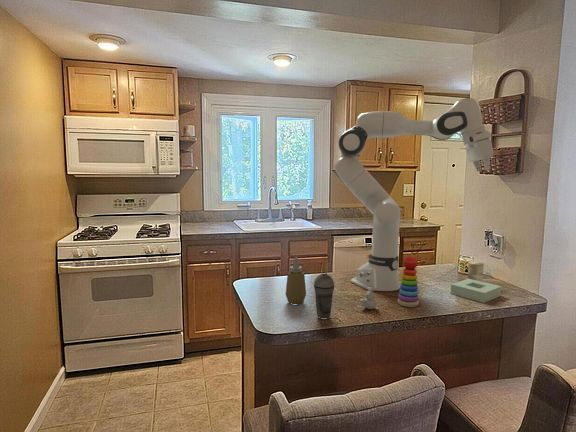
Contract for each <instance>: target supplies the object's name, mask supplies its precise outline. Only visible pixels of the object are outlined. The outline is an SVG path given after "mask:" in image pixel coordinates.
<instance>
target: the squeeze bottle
mask: <svg viewBox="0 0 576 432" xmlns="http://www.w3.org/2000/svg"><path fill="white" fill-rule="evenodd" d="M299 263H300V262H299V258H298V257H294V259H293V264H292V265H290V267H289V271H288V272H287V276H286V287H285V297H286V300H287V303H288V302H289V303H292V304H301V305H303V304H304V302H305V299H306V297H307V290H306V289H307V288H306V287H307V286H306V278H305V277H306V276H305V272H303V267H302V266H301V265H300V264H299ZM289 303H288V304H289ZM302 303H303V304H302Z"/></svg>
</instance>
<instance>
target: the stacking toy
mask: <svg viewBox="0 0 576 432" xmlns="http://www.w3.org/2000/svg"><path fill="white" fill-rule="evenodd" d="M403 266H404V268H403V270H402V272H403V273H402V274H401V277H402V278H401V280H400V289H399V293H398V294H397V297H398V299H397V304H398V305H400V306H402V307H405V308H415V307H417V306H419V304H420V301H419V291H418V288H419V286H418V282H419V281H418V280H417V279H418V277H417V273H418V271H417V269H416V268H417V266H418V260H417V258H415V257H414V256H406V257H405V258H404V260H403Z"/></svg>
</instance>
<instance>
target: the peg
mask: <svg viewBox="0 0 576 432" xmlns="http://www.w3.org/2000/svg"><path fill="white" fill-rule="evenodd" d="M484 267H485V265H484V263H482V262H477V261H471V262H468V269H467V279H472V280H476V281H481V282H483V281H484V280H483V279H484Z"/></svg>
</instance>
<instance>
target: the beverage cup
mask: <svg viewBox="0 0 576 432" xmlns="http://www.w3.org/2000/svg"><path fill="white" fill-rule="evenodd" d="M329 263H330V262H329V261H327V262H326V269H325V273H322V274H319V275H317V276H316V278H315V280H314V283H313V288H314V294H315V308H316V309H315V310H316V316H318V317H320V318H329V317H330V318H331V313H332V305H333V304H332V302H333V297H334V295H333V294H334V289H335V281H334V279H333V277H332V276H331V275H330V274H328V272H329V271H328V269H329ZM330 318H329V319H330Z"/></svg>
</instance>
